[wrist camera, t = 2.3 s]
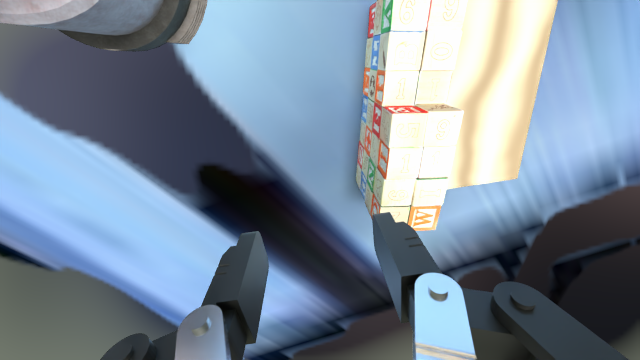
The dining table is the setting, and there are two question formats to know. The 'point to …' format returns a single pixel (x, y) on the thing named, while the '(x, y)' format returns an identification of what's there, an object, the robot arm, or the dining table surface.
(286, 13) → the dining table surface
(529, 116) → the oak board
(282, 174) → the dining table surface
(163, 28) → the juicer
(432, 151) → the stack of blocks
